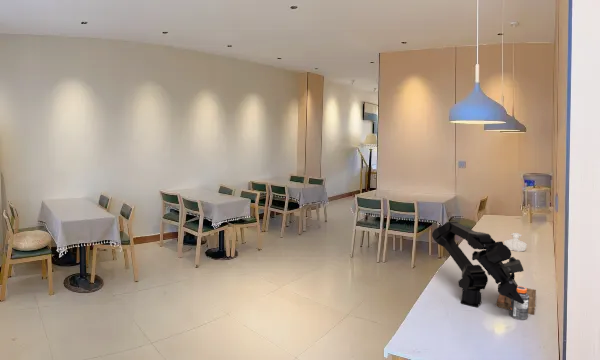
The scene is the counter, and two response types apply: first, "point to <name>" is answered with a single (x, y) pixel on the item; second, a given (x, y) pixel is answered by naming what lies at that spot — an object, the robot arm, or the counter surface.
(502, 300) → the socket frame
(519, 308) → the pill bottle
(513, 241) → the white tied bag
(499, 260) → the robot arm
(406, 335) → the counter surface
